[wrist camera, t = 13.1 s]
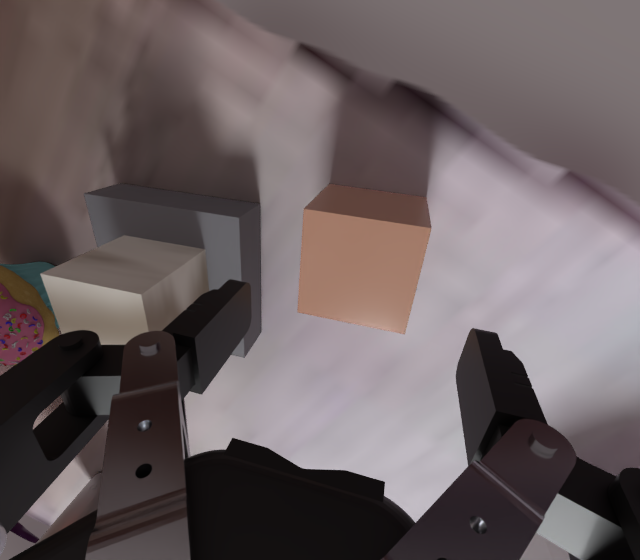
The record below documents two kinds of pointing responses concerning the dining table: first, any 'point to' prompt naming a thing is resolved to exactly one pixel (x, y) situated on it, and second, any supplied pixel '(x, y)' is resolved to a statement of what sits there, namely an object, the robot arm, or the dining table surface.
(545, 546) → the geodesic sphere
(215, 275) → the plinth
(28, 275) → the cupcake
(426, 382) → the dining table surface
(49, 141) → the dining table surface
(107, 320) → the cream cube
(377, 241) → the terracotta cube
